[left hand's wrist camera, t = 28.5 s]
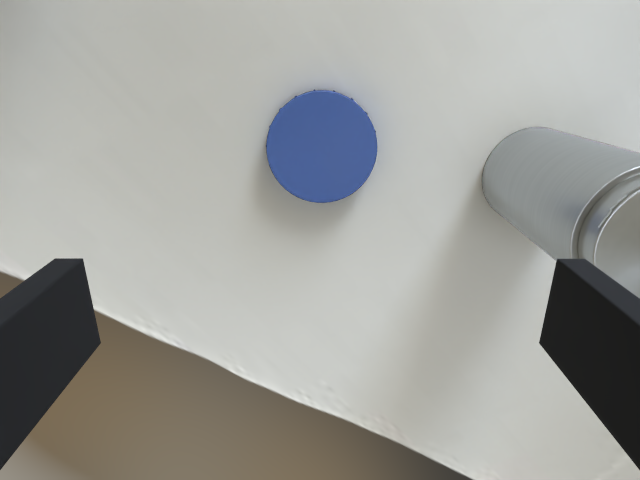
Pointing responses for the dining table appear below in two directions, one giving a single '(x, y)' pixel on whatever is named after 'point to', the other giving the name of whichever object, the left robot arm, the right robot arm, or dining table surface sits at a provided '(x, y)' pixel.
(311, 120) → the lid
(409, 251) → the dining table surface
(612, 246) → the jar
